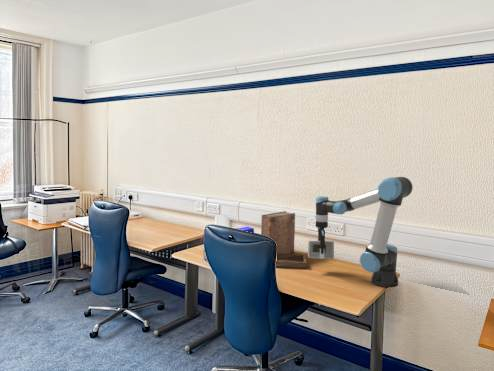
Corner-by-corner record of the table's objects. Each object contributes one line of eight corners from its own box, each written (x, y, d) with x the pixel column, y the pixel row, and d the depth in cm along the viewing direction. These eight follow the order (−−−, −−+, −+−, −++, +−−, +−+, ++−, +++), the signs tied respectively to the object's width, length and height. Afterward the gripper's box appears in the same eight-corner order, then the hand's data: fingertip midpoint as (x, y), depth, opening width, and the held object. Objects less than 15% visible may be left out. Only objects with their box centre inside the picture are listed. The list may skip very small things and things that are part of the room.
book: (284, 250, 287) (286, 211, 283) (294, 252, 280) (295, 213, 276) (260, 256, 270) (261, 215, 267) (269, 259, 263) (270, 217, 260)
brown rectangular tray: (306, 268, 246) (306, 262, 245) (273, 267, 247) (273, 261, 247) (304, 260, 263) (304, 254, 262) (273, 259, 264) (273, 253, 264)
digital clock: (306, 258, 239) (306, 241, 238) (309, 254, 247) (310, 238, 246) (332, 261, 233) (332, 244, 232) (335, 257, 241) (335, 240, 240)
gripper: (314, 217, 248) (313, 252, 250) (317, 224, 228) (316, 261, 230) (325, 218, 248) (325, 252, 250) (330, 224, 228) (329, 261, 230)
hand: (321, 256), depth 240 cm, fingers closed on digital clock, 7 cm apart
